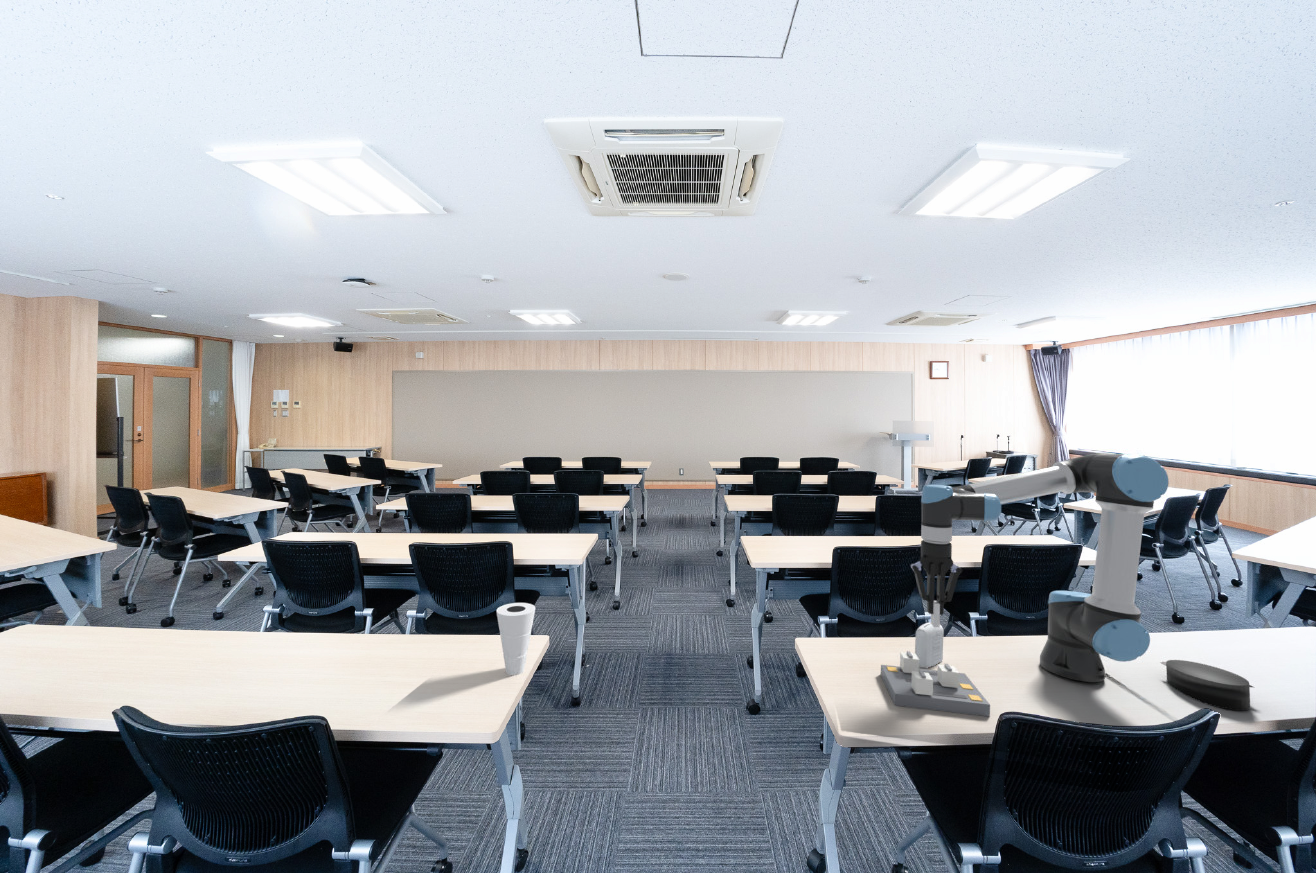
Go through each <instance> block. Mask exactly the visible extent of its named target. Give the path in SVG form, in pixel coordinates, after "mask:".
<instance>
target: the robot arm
mask: <svg viewBox="0 0 1316 873" xmlns="http://www.w3.org/2000/svg"><path fill="white" fill-rule="evenodd" d="M1168 488H1169V475H1168V473H1167V471H1166V469H1165V467H1164V466H1162V465H1161V464H1160V463H1159V462H1158V461H1157V460H1155V459H1154V458H1152V457H1148V456H1145V455H1139V454H1134V453H1132V454H1131V453H1129V454H1127V453H1110V452H1108V453H1107V452H1100V453H1099V452H1097V453H1090V454H1086V455H1081V456H1078V457H1074V458H1073V457H1072V458H1070V459H1066V460H1062V461H1061V460H1060V461H1056V462H1054V463H1053V465H1052V466H1050V467H1049V466H1048V467H1045V468H1044V467H1043V468H1040V469H1035V470H1031V471H1026V472H1021V473H1016V474H1012V475H1007V476H1003V477H997V478H993V479H988V480H984V481H983V480H982V481H977V482H974V483H973V482H972V483H970V484H969V483H967V484H964V485H959V486H950V485H946V484H944V485H943V484H926V485H924V486H923V487H922V491H921V499H920V503H921V528H920V529H921V530H920V532H921V533H920V534H921V535H920V538H921V539H922V540H921V541H920V557H919V559H918V561H917V562H915V563H910V568H911V569H912V571H913V573H914V577H915V581H916V586H917V589H918V592H919V596H920V598H921V599H922V600H923V601H927V602H926V603H927V604H926V607H927V608H926V611H927V613H928V614H929V615H930V622H931V624H932V626H933V627H939V628H940V625H941V623H940V622H941V616H942V615H944V610H945V609H944V608H945V607H944V606H945V604H946V603H950V602H951V601H952V599H953V597H954V593H955V590H956V585H957V581H958V579H959V576H960V575H961V574H962V572H963V569H962V567H960V566H958V565H956V564H955V563H954V561H953V559H952V554H953V549H952V548H953V545H952V540H953V530H952V529H953V521H976V522H977V521H981V522H989V521H991V522H992V521H996V520H998V519H999V518H1000V516H1001V514H1002V504H1007V503H1012V502H1018V501H1022V500H1029V499H1032V498H1037V497H1042V496H1046V495H1052V494H1058V493H1063V494H1065V495H1069V494H1074V493H1075V494H1076V493H1092V494H1093V493H1094V494H1095V502H1096V504H1098V506H1099V507H1100V508H1101V513H1100V523H1099V531H1098V539H1097V547H1096V557H1095V566H1094V574H1093V582H1092V589H1091V590H1092V592H1091V593H1086V592H1080V591H1073V590H1053V591H1051V592H1050V593H1049V596H1048V601H1047V604H1048V617H1047V618H1048V619H1047V620H1048V621H1047V640H1046V642H1045V643H1044V646H1043V649H1042V650H1041V653H1040V654H1039V665H1040V666H1041V667H1043V668H1044V669H1045V670H1046V671H1048V672H1051V673H1053V674H1055V675H1058V676H1059V677H1063V678H1067V679H1070V680H1075V681H1080V682H1086V683H1088V682H1089V683H1099V682H1103V681H1104V680H1106V679H1105V678H1106V669H1105V666H1104V663H1103V661H1102V658H1101V656H1103V657H1106V658H1108V659H1110V660H1113V661H1116V662H1121V663H1124V662H1125V663H1126V662H1132V661H1135V660H1137V658H1139V657H1142V656H1143V655H1145V654H1146V652H1147V651H1148V649H1149V647H1150V643H1151V635H1150V632H1149V631H1148V630H1147V629H1146V627H1145V626H1144V625H1143V624H1141V616H1142V615H1141V614H1142V612H1141V609H1139V607H1137V606H1136V604H1135V600H1136V599H1135V598H1136V589H1137V588H1136V587H1137V582H1138V581H1137V580H1138V573H1139V572H1138V571H1139V562H1140V555H1141V554H1140V553H1141V545H1142V537H1143V528H1144V521H1145V514H1147V513H1148V512H1149V511H1151V510H1154V503H1155V501H1157V500H1159V499H1160V498H1162V496H1164V495H1165V494H1166V492H1167V491H1168ZM922 568H923V570H925V572H926V588H925V584H924V580H923V575H922V572H921V571H922ZM949 570H950V573H949V576H948V581H947V583H946V582H945V580H946V575H947V573H948V571H949ZM935 579H936V600H935ZM945 583H946V585H945ZM945 586H946V587H945Z"/></svg>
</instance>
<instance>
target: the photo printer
mask: <svg viewBox="0 0 1316 873" xmlns="http://www.w3.org/2000/svg"><path fill="white" fill-rule="evenodd" d="M914 640H915V643H914V644H915V645H914V653H915V654H916V655H917V657H918V658H919V666H921V667H920V668H922V667H925V668H924V669H929V668H928V667H930V668H932V667H934V666H936V664H937V665H939V664H940V663H939V662H941V663H942V662H943V661H942V660H943V658H944V628H943V626H942V625H941V624H940V628H939V627H933V626H932V624H931V621H930V622H926V623H923V624H921V625H920V626H919V627H918V628H917V629H916V630H915V639H914ZM938 663H939V664H938ZM931 666H932V667H931Z"/></svg>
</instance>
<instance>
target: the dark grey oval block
mask: <svg viewBox="0 0 1316 873" xmlns="http://www.w3.org/2000/svg"><path fill="white" fill-rule="evenodd" d="M1159 663H1160V664H1162V665H1163V666H1165V667H1166V681H1167V683H1168V685H1169V686H1170V687H1172V688H1173V689H1175V690H1177V691H1178V692H1179V693H1180V694H1181V693H1182V694H1183V695H1185V696H1186V697H1188V698H1191V699H1193V700H1195V701H1198V702H1201V703H1202V704H1205V703H1207V704H1206V705H1210V706H1213V707H1218V708H1222V709H1226V710H1227V709H1228V710H1232V711H1233V710H1234V711H1247V710H1250V709H1251V692H1250V690H1251V689H1250V688H1256V687H1255V686H1253V685H1252V684H1251V685H1250V682H1249V680H1247V678H1245V677H1243V676H1241V675H1239V674H1237V673H1234V672H1231V671H1228V670H1226V669H1222V668H1220V667H1217V666H1213V665H1208V664H1205V663H1201V662H1200V663H1199V662H1194V661H1191V660H1190V661H1188V660H1181V659H1170V660H1169V659H1168V660H1166V661H1162V662H1159Z"/></svg>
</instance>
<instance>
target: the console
mask: <svg viewBox="0 0 1316 873" xmlns="http://www.w3.org/2000/svg"><path fill="white" fill-rule="evenodd" d="M919 670H922V671H923V672H926V673H929V675H930V676H931V678H932V679H933V696H932V695H923V694H916V693H915V692H914V690H913V688H912V686H911V684H912V673H905V672H903V671H902V669H901V667H900V666H898V665H897V666H896V665H888V664H880V676H881V679H882V678H883V679H882V681H883V683H884V686H885V687H886V689H887V692H888V693H889V696H890V697H891V700H892V702H893V705H894V706H896V707H897V706H898V707H907V708H913V709H922V710H931V711H938V712H939V711H941V712H948V713H956V714H965V715H975V716H981V717H982V716H983V717H990V716H991V704H990V703H989V701H988V699H986V697H984V695H983V694H982V693H981V692H980V690H979V689H978V688H977V686H976V685H975V684H974V683H973V682H972V680H971V679H970V678H969V676H967V674H966V673H964V672H959V688H954V687H945V686H942V685H941V684H940V682H939V681H938V679H937V669H936V670H935V669H928V668H919Z"/></svg>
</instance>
